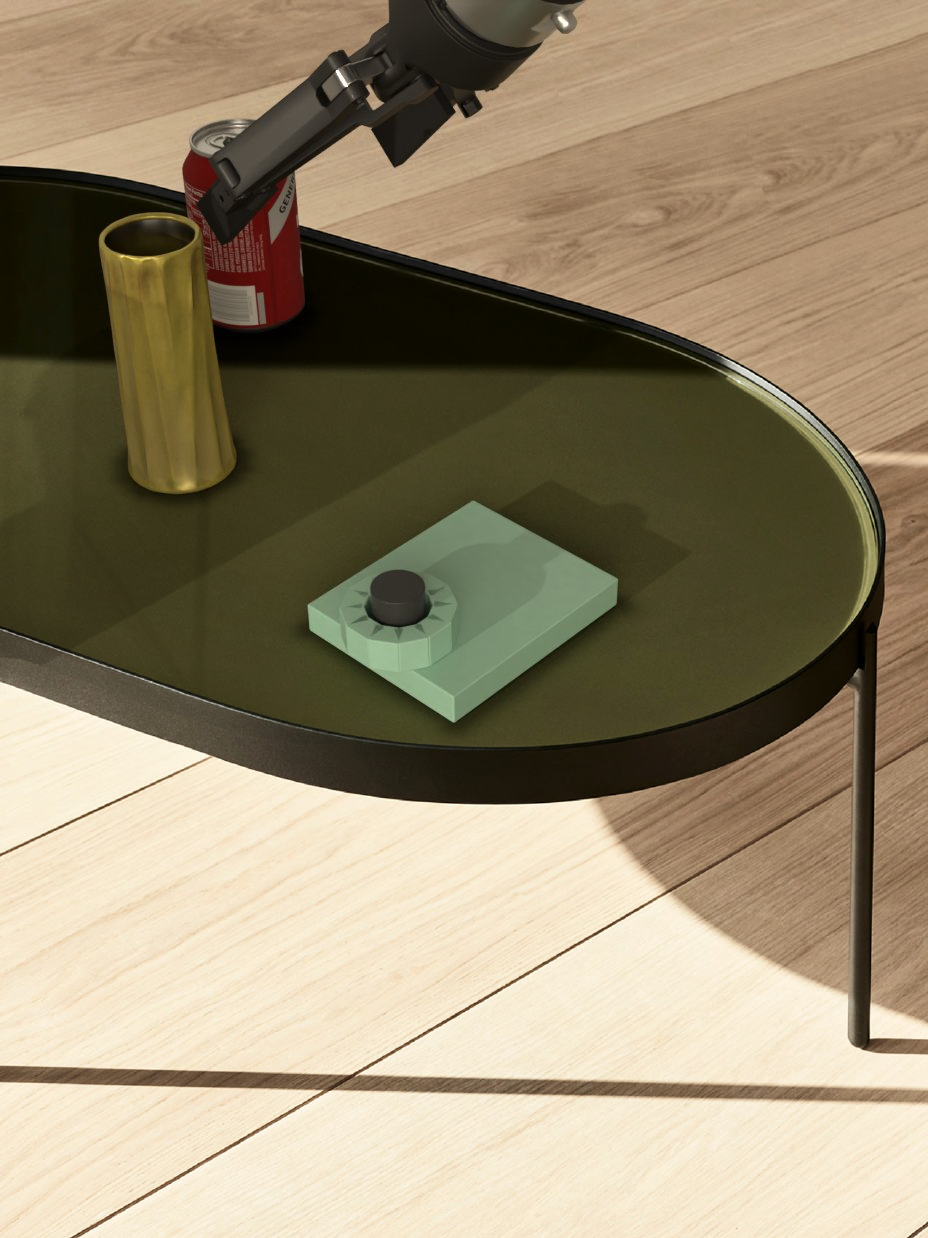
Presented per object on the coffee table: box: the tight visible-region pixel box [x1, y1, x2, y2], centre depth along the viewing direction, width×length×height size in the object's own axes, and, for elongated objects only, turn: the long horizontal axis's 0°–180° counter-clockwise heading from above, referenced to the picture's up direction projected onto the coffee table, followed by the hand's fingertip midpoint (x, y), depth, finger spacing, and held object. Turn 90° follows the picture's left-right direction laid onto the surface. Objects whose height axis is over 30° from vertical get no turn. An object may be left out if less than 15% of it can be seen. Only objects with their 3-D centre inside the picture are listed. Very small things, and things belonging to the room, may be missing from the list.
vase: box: [98, 211, 237, 495], centre depth 90 cm, size 6×6×14 cm
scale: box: [307, 500, 619, 723], centre depth 83 cm, size 13×10×4 cm
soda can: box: [181, 117, 306, 334], centre depth 104 cm, size 7×7×12 cm
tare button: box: [370, 570, 426, 628], centre depth 79 cm, size 3×3×2 cm
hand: (303, 183), depth 98 cm, fingers open, 13 cm apart
